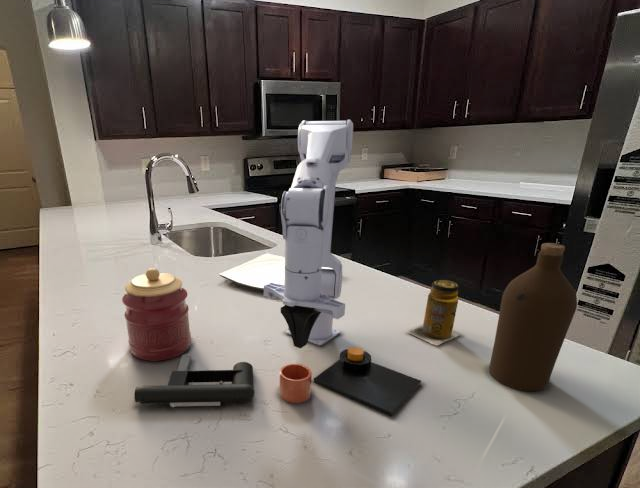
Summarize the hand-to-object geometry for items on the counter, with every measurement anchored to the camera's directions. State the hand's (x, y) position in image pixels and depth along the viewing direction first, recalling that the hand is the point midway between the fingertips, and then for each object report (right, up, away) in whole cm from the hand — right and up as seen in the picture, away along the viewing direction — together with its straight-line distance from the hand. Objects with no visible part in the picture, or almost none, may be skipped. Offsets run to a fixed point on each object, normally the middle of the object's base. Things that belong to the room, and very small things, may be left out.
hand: (300, 345), depth 70 cm
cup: (-1, -9, +3) cm, 10 cm away
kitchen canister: (-28, -2, +20) cm, 34 cm away
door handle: (-18, -8, +6) cm, 21 cm away
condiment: (+32, 0, +23) cm, 40 cm away
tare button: (+12, -3, +10) cm, 16 cm away
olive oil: (+41, -7, +7) cm, 42 cm away
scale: (+13, -8, +6) cm, 16 cm away
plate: (-1, +15, +59) cm, 61 cm away
